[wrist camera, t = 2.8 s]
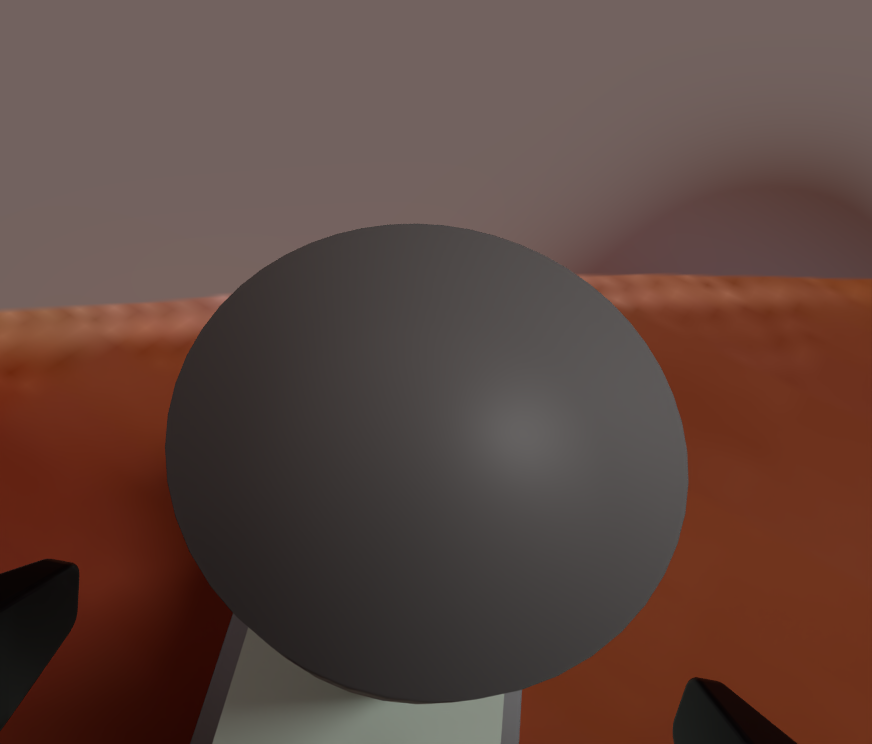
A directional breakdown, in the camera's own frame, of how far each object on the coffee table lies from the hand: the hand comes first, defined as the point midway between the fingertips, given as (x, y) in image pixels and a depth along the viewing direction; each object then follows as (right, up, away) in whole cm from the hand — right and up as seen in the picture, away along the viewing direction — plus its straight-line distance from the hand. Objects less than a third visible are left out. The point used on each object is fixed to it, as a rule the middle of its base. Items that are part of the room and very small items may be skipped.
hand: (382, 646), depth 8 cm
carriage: (-1, -3, +7) cm, 8 cm away
